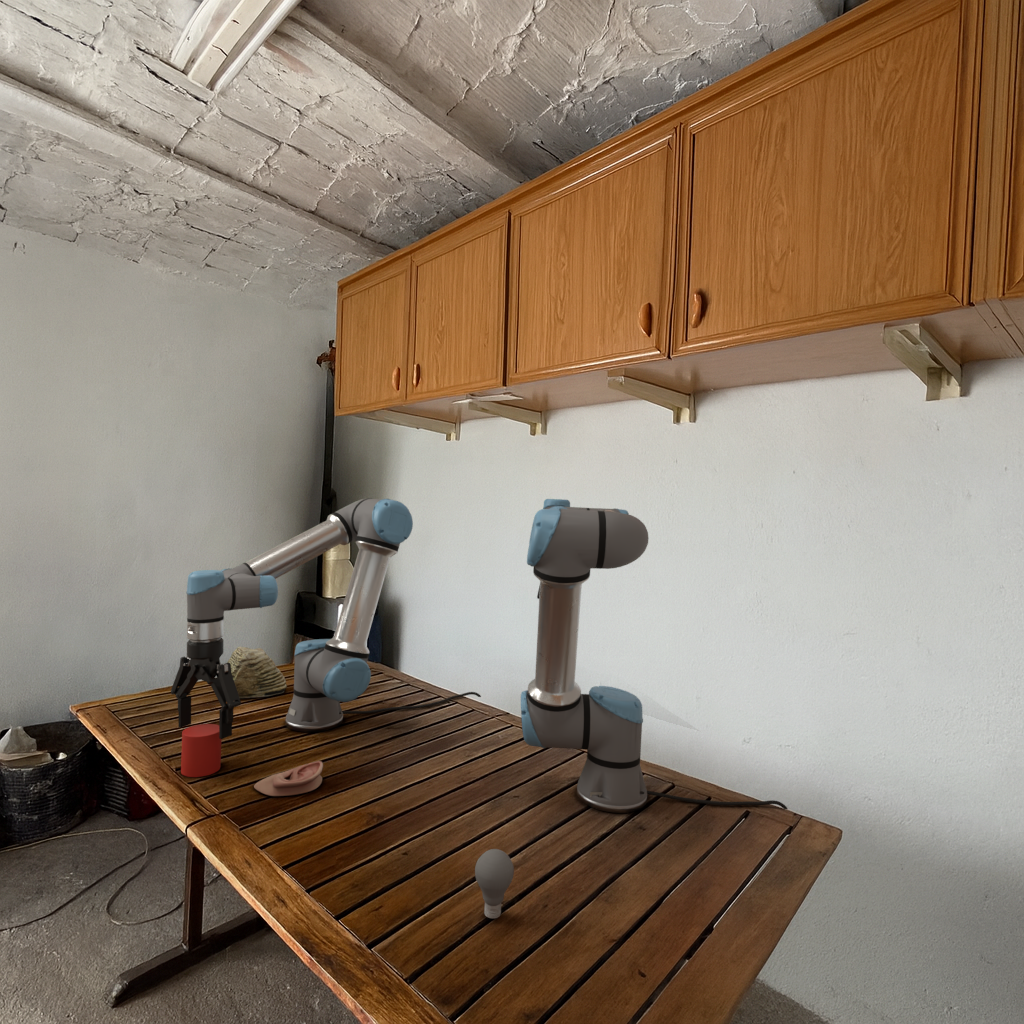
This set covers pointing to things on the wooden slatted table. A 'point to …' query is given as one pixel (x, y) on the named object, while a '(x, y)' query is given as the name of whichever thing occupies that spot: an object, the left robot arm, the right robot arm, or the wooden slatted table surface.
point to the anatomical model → (292, 781)
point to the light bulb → (494, 879)
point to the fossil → (255, 673)
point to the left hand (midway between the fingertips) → (204, 731)
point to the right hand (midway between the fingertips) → (551, 630)
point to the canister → (200, 750)
